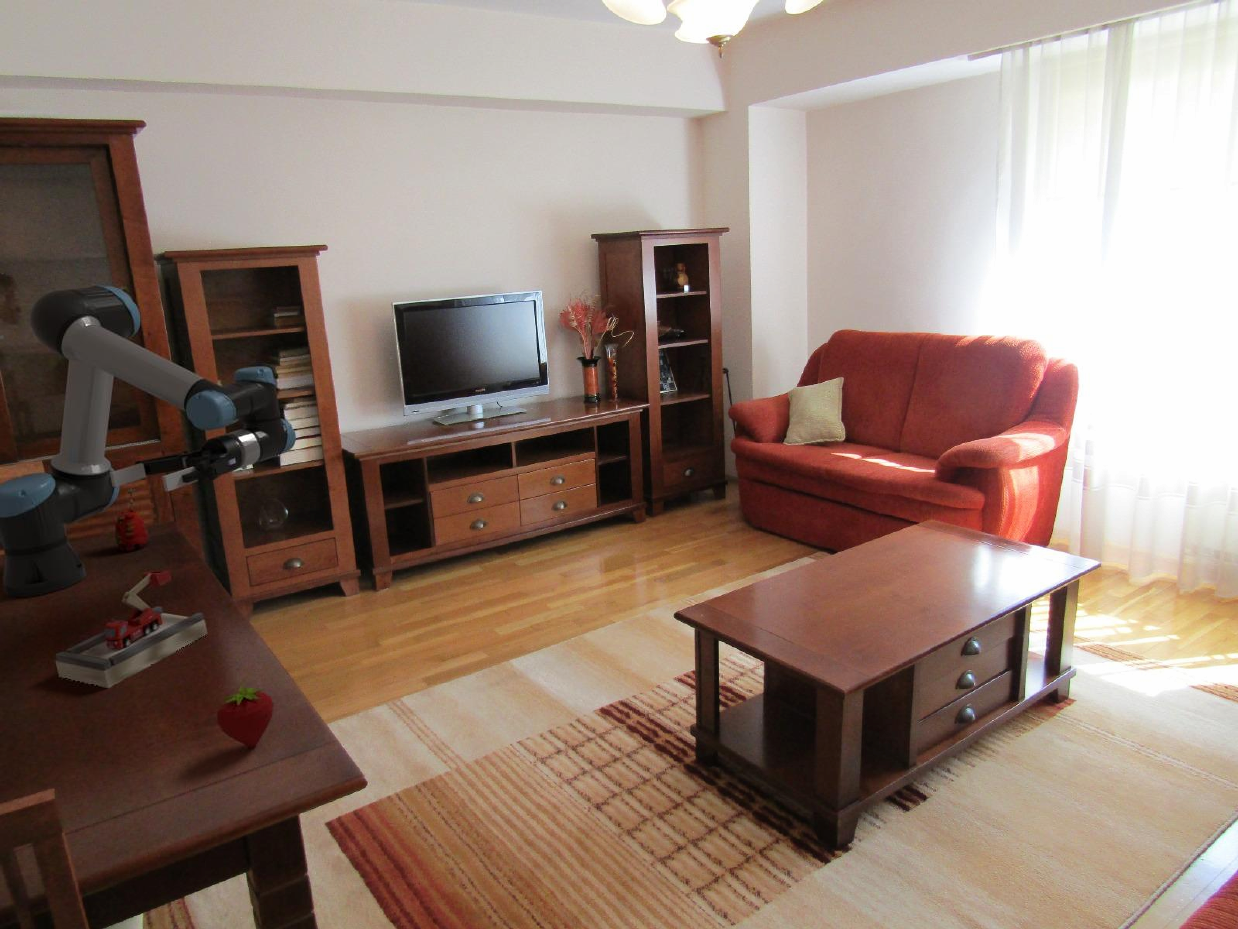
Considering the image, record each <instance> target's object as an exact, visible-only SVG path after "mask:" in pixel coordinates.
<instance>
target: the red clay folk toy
mask: <svg viewBox="0 0 1238 929" xmlns="http://www.w3.org/2000/svg"><path fill="white" fill-rule="evenodd" d="M134 491H136V489H134V485H133V484H132V486H131V487H130V489H127V493H128V494H129V495H130V499H129V503H130V508H129V509H128V510H124V511H122V512H121V514H119V515H118V516H117V522H115V524H114V527H115V530H114V531H115V533H114V538H115V543H116V544H117V548H118V549H119V550H121V551H122V552H134V551H135V550H136V549H137V550H138V549H143V548H144V547H145V546H147V544H149V542H150V534H149V531H148V529H147V526H146V523H145V521H144V520H143V518H142V517H141V515H139V514H138V513H137V511H136V510H135V509H133V504H134V500H133V499H132V498H133V492H134Z"/></svg>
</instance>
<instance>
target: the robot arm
mask: <svg viewBox="0 0 1238 929" xmlns="http://www.w3.org/2000/svg"><path fill="white" fill-rule="evenodd" d="M31 308H32V309H31V310H30V316H29V320H30V321H29V322H30V326H31V329H32V332H33V334H34V335H35V337H36V339H37V340H38V341H39V342H40V343H41V344H42V345H44V346H45V347H46V348H47V349H49V350H51V351H52V352H54V353H55V354H57V355H60V356H61V357H63V358H65V359H67V360H68V369H67V377H66V378H67V379H66V388H65V398H64V408H63V418H62V427H61V440H60V447H59V453H57V454H55V455H54V456H52V458H51V459H50V464H49V465H50V466H49V467H50V468H49V473H46V472H36V473H35V472H34V473H29V474H23V475H22V476H20V477H19V476H18V477H13V478H11V479H8V480H6V481H4V482H2V483H0V539H1V544H2V547H3V552H4V555H5V561H4V566H3V567H4V569H3V577H2V588H3V592H4V595H5V596H8V597H12V598H13V597H14V598H25V597H26V598H27V597H35V596H39V595H45V594H46V595H47V594H49V593H54V592H57V591H59V590H64V589H65V588H69V587H71V586H73V585H75V584H77V583H79V582H81V581H82V580H84V578H86V575H87V573H86V570H85V566H84V563H83V562H82V560H81V559H80V557H79V556H78V554H77V553H76V552H75V550H74V549H73V548H72V546H71V544H70V543H69V538H68V534H67V529H66V527H67V526H70V525H72V524H74V523H77V522H79V521H81V520H84V519H86V518H89V517H92V516H94V515H95V516H96V515H97V514H99V513H101V512H103V511H104V510H106V509H108V508H109V507H111V506H112V505H113V504H114V502H116V500H117V498H118V495H119V493H120V486H123V485H126V484H129V483H132V482H136V481H139V480H146V478H147V476H151V475H157V474H163V473H165V475H163V476H162V482H163V486H164V491H165V492H169V491H173V490H176V489H179V488H182V487H185V486H187V485H188V486H189V485H190V484H194V483H196V482H198V481H206V480H207V478H208V480H209V481H215V480H216V479H218V478H219V477H220V476H222V475H225V474H226V475H227V474H228V473H230V472H235V471H236V470H239V469H242V470H247V468H248V466H250V465H254V464H256V463H258V462H262V461H265V460H268V459H272V458H276V457H279V456H281V455H283V454H286V453H287V452H289V451H290V450H292V448H294V446H295V443H296V439H297V437H296V435H297V434H296V431H295V430H294V429H293V426H292V423H290V421H288V420H286V419H283V418H282V417H281V413H280V405H279V398H278V393H277V391H278V390H277V383H276V382H275V377H274V374H273V370H272V369H271V368H270V367H267V366H248V367H243V368H238V369H237V370H236V371H235V372H234V380H233V381H234V382H232V383H229V384H226V385H219V384H217V383H216V382H213V381H211V380H209V379H207V378H205V377H203V376H201V375H199V374H197V373H195V372H192V370H191V371H190V370H189V369H187V368H185V367H183V366H180V365H178V364H177V363H175V362H172V361H170V360H169V359H167V358H165V357H164V356H163V357H162V356H161V355H159V354H157V353H154V352H152V351H151V350H148V349H146V348H144V347H142V346H141V345H139V344H137V343H134V342H132V341H131V340H128V339H131V338H132V337H133V336H134V335H136V334H137V333H138V331H139V330H140V327H141V326H140V325H141V315H140V311H139V308H138V306H137V305H136V303H135V302H134V301H133V298H132V297H131V296H130V295H129V294H128V293H126V292H125V291H124V290H122V289H120V288H118V287H115V286H111V285H110V286H109V285H108V286H107V285H106V286H103V285H102V286H101V285H92V286H90V287H89V286H88V287H80V288H71V289H60V290H59V289H58V290H53V291H50V292H47V293H45V294H43V295H42V296H41V297H40V298H38V299H37V300H36V301H35V303H34V304H33V305H32V307H31ZM114 377H116V378H117V379H120V380H122V381H123V382H126V383H128V384H130V385H132V386H133V387H136V388H138V389H140V390H142V391H144V392H145V393H148V394H150V395H153V396H154V397H156V398H158V399H160V400H162V401H164V402H166V403H169V404H170V405H173V406H174V407H176V408H178V409H180V410H183V411H184V412H186V416H187V419H188V420H189V421H190V422H191V424H192V425H193V426H194V427H195V428H197V429H199V430H201V431H205V432H206V431H215V430H218V429H224V428H226V427H228V426H230V425H233V424H235V423H237V422H240V421H242V424H243V428H241V429H238V430H235V431H231V432H228V433H225V434H222V435H218V436H215V437H211V438H208V439H207V440H205V442H204V443H203V445H202V448H201V449H196V450H193V451H191V452H189V451H187V450H183V451H180V452H177V453H173V454H172V453H171V454H167V455H163V456H158V457H152V458H147V459H142V460H136V461H134V465H131V466H128V467H127V466H126V467H125V468H121V469H117V470H114V469H113V467H112V464H111V462H110V460H109V459H107V458H106V456H105V453H106V444H107V437H108V436H107V434H108V427H109V419H110V410H111V401H112V393H113V387H114V386H113V384H114ZM185 466H186V467H185ZM170 472H171V473H170ZM166 473H168V474H166Z"/></svg>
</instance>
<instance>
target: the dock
mask: <svg viewBox="0 0 1238 929" xmlns="http://www.w3.org/2000/svg"><path fill="white" fill-rule="evenodd" d="M151 609H152V610H153V613H155V614H161V618H162V623H163V624H162V625H160V626H158V629H157V630H156V631H152V630H151V632H150V634H149V635H144V634H143V636H141V637H140V638H138V639H136V640H134V641H133V642H131V645H130V646H129V647H125V646H123V648H119V649H112V648H108V647H107V645H106V641H105V639H106V638H105V636H104V631H103V632H101V633H98V634H96V635H94V636H92V637H90V638H87V639H86V640H83V641H82V642H79V643H77V644H75V645H73V646H71V647H69V648H66V649H65V651H61V652H58V653H56V654H55V658H56V660H55V665H56V669H57V673H58V677H59V678H60V677H62V678H61V679H63V678H68V679H71V680H70V681H73V680H75V682H77V681H80V682H79V683H82V682H84V683H83V684H87V683H88V684H87V685H91V684H94V685H93V686H96V685H98V686H97V687H100V686H101V688H106V689H110V688H112V687H113V685H114V686H115V684H116V685H117V684H119V683H121V682H123V681H125V680H126V678H127V679H128V678H130V677H133V676H134V675H135V674H138V673H139V672H142V671H143V670H145V669H147V668H148V667H149V668H150V667H151V666H152V665H151V664H153V665H155V664H156V663H158V662H160V661H162V660H163V658H164V659H166V658H167V657H169V656H171V655H173V654H174V653H177V652H178V651H180V650H182V649H183V648H182V647H184V648H185V646H186V645H188V644H189V645H191V644H193V643H195V642H196V641H195V640H197V641H198V639H199V638H201V637H202V638H204V637H206V636H207V635H206V634H208V629H207V624H206V620H205V619H204V615H203V613H202V612H196V613H194V614H193V615H190V616H184V615H177V614H171V613H167V612H166V613H164V611H163V607H162V606H159V605H158V606H157V605H156V606H155V607H153V608H151ZM126 622H127V620H126ZM127 624H128V622H127ZM205 635H206V636H205ZM203 636H204V637H203ZM202 638H201V639H202ZM199 640H200V639H199ZM194 641H195V642H194ZM192 642H193V643H192ZM190 643H191V644H190ZM189 645H188V646H189ZM186 647H187V646H186ZM181 648H182V649H181ZM179 649H180V650H179ZM177 650H178V651H177ZM176 651H177V652H176ZM68 679H67V680H68ZM124 679H125V680H124Z"/></svg>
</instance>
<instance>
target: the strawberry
mask: <svg viewBox="0 0 1238 929" xmlns="http://www.w3.org/2000/svg"><path fill="white" fill-rule="evenodd" d="M239 681H240V682H241V684H242V685H241V686H240V688H238V690H237V693H236V694H233V695H229V696H225V697H223V700H227V701H225V702H223V704H221V707H219V709H218V711H217V715H216V723H217V724H218V726H219V727H220V729H221V730H222V732H223V733H224V734H225V735H227V736H228V737H230V738H232V740H234V741H237V742H239V743H241V744H243V745H244V746H245V747H249V748H253V747H255V746H257V744H258V743H260V740H261V738H262V737H263V735H264V734H265V732H266V731H267V728H268V727H269V725H270V722H271V720H272V719H273V714H274V713H273V712H274V706H275V705H274V704H275V703H274V701H273V699H272V697H271V695H269V694H267V693H265V692H263V691H265V689H263V688H262V689H255V687H249V688H247V686H246V685H245V684H244V682H243V681H242V680H241V679H239Z"/></svg>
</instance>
